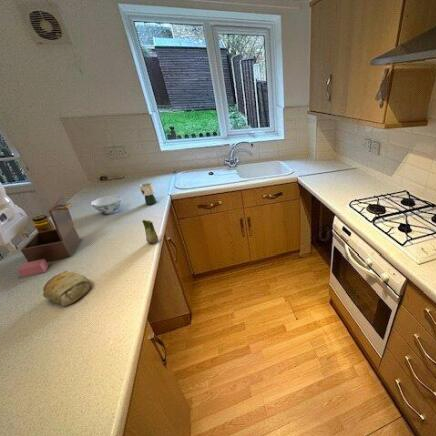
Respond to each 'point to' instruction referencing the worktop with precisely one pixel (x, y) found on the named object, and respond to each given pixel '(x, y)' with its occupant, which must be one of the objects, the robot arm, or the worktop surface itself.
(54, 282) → the pastry
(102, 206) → the chinaware
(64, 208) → the chest lid
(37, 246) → the chest
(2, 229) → the robot arm
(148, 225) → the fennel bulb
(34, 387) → the worktop surface
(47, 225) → the condiment
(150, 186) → the character mug
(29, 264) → the pink rectangular block
